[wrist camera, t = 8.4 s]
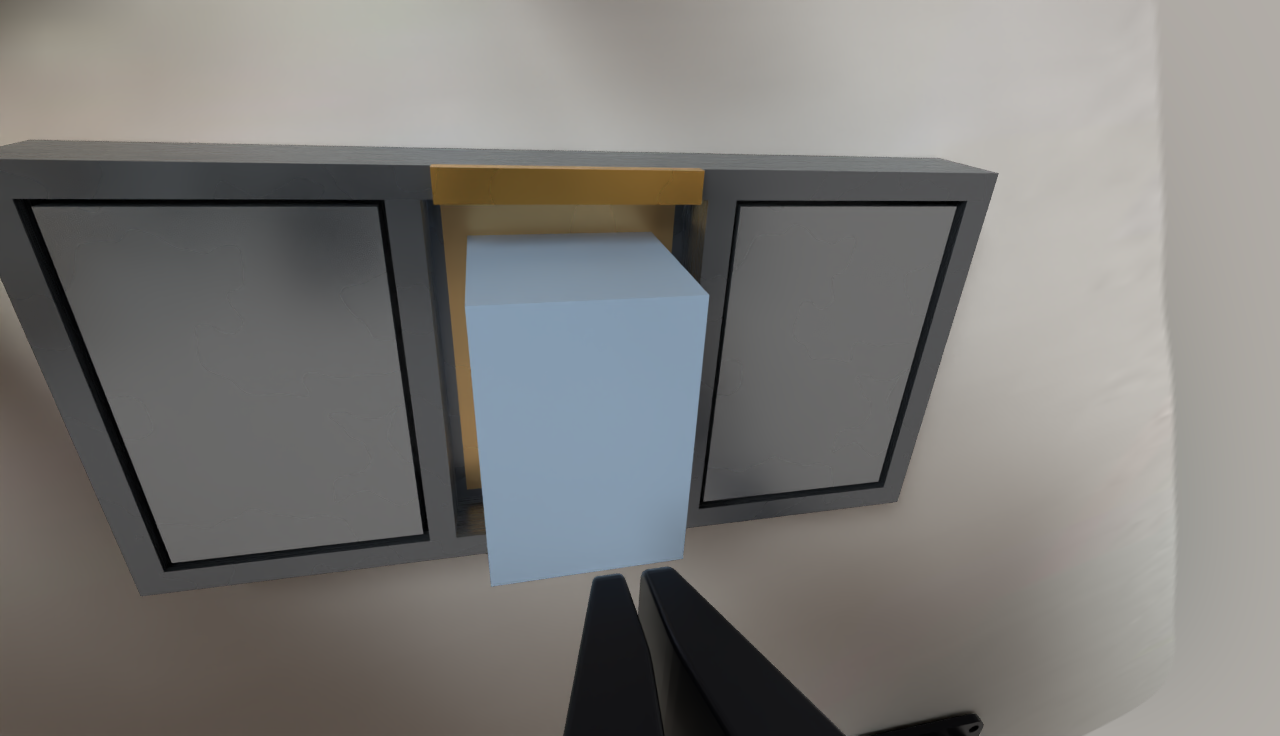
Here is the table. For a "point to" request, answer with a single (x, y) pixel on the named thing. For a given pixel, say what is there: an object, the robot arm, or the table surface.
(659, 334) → the pale blue box
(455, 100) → the table surface
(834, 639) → the table surface
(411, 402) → the cabinet
